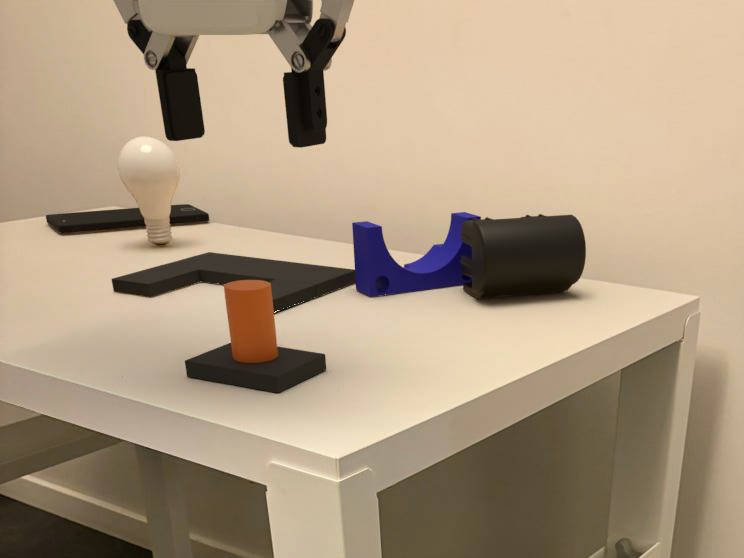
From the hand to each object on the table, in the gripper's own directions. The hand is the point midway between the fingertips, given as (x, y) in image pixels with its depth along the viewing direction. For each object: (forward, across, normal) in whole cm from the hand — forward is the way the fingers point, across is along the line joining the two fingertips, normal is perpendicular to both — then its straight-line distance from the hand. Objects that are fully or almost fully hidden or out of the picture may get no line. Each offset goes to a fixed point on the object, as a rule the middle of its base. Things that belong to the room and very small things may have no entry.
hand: (245, 142), depth 63 cm
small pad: (+15, -1, 0) cm, 15 cm away
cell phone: (+15, -52, +42) cm, 68 cm away
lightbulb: (+15, -39, +33) cm, 53 cm away
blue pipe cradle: (+15, -4, +29) cm, 33 cm away
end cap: (+15, +6, +31) cm, 35 cm away
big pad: (+15, -19, +21) cm, 32 cm away
